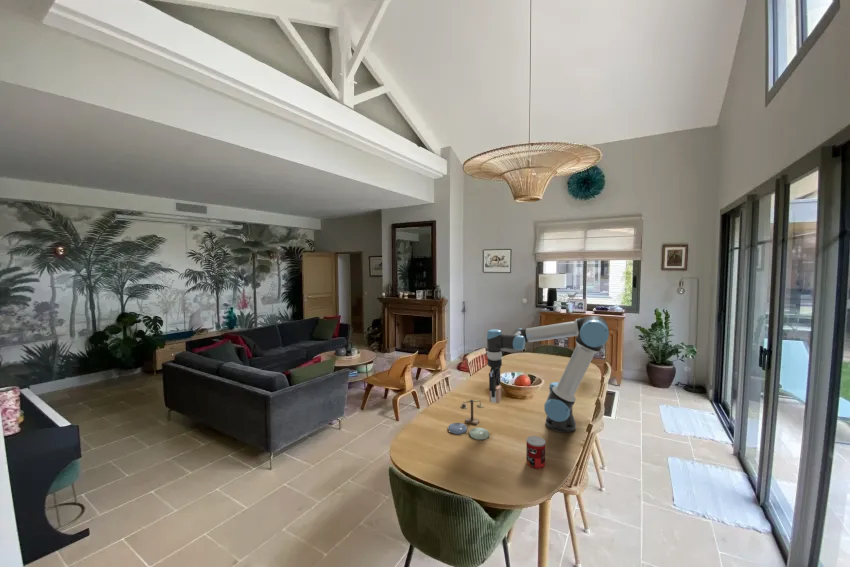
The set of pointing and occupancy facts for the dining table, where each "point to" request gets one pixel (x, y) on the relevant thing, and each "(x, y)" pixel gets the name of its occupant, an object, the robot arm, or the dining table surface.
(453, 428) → the saucer slate far
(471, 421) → the balance
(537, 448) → the canned food
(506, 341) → the robot arm
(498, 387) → the block
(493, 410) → the dining table surface
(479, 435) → the saucer sage near
